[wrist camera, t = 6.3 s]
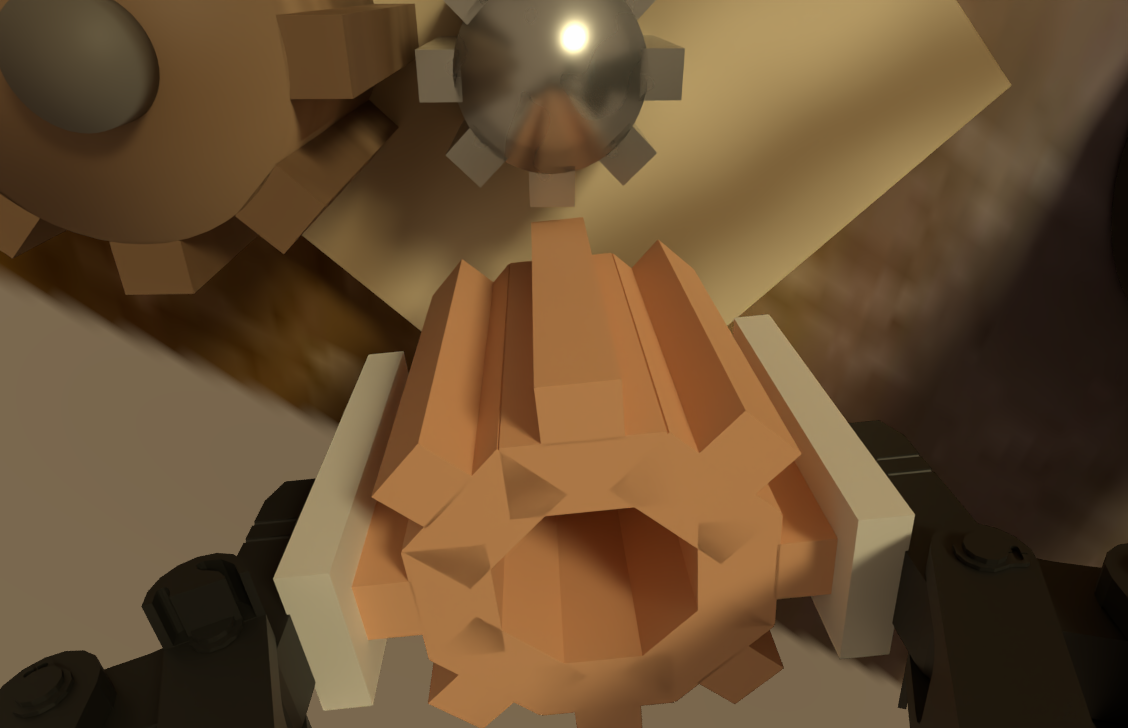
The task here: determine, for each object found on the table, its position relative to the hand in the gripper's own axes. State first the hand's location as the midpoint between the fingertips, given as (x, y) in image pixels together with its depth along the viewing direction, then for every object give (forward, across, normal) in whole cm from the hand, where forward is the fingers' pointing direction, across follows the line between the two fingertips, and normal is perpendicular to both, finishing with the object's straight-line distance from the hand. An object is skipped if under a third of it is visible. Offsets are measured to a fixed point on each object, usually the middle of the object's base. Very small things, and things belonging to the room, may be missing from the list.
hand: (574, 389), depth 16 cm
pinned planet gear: (+4, +6, -8) cm, 11 cm away
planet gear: (+1, 0, 0) cm, 1 cm away
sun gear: (+4, 0, -6) cm, 8 cm away
